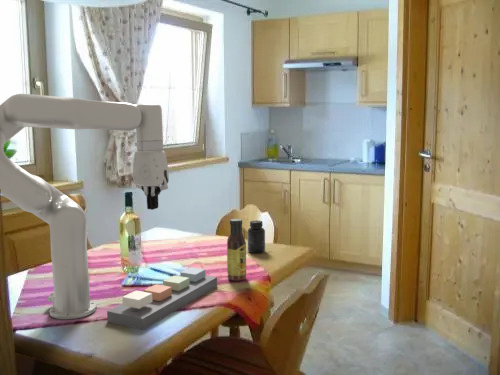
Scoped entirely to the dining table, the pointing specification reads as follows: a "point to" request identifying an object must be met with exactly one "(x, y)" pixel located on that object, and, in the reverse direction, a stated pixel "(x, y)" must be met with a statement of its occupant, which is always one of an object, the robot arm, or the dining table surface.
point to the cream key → (137, 299)
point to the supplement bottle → (256, 237)
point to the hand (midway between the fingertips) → (152, 208)
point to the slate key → (193, 274)
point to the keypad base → (160, 305)
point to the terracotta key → (159, 292)
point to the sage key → (176, 282)
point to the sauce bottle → (236, 252)
